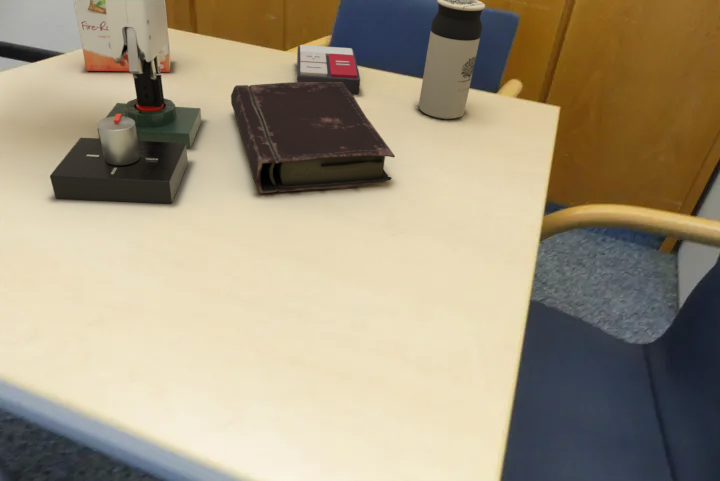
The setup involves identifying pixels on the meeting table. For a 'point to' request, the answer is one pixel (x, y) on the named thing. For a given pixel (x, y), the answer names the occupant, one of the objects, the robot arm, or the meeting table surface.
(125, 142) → the hob knob
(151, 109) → the button
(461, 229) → the meeting table surface
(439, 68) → the travel mug
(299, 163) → the diary
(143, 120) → the button base
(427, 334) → the meeting table surface
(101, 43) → the cracker box
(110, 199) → the knob base
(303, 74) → the calculator
